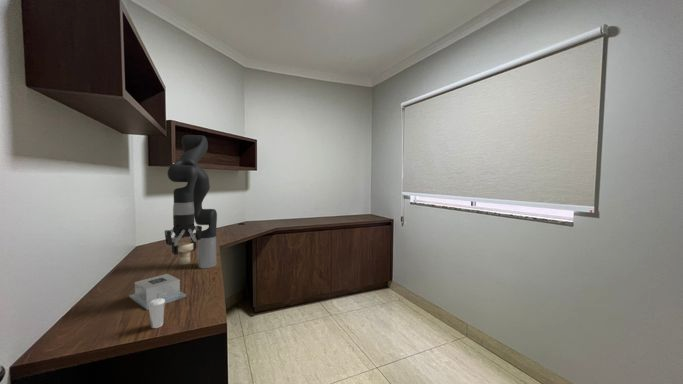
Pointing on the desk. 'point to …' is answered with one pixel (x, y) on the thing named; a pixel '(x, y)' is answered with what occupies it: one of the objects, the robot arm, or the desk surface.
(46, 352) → the desk surface
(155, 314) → the milkshake
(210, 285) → the desk surface
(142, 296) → the block
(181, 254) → the beech pin
